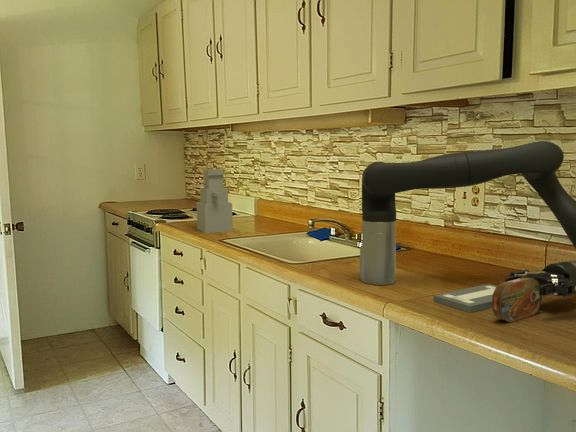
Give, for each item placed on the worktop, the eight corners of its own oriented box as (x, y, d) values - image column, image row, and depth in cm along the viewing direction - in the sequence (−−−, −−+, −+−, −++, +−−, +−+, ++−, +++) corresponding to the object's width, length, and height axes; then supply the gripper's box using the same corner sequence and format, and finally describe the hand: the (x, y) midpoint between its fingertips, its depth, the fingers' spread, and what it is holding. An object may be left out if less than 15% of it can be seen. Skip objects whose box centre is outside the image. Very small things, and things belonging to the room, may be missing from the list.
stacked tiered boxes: (219, 226, 265) (218, 168, 261) (236, 232, 244) (235, 170, 240) (193, 227, 259) (191, 169, 256) (208, 234, 238) (207, 170, 235)
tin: (501, 325, 113) (502, 286, 112) (488, 321, 116) (489, 283, 115) (542, 313, 122) (544, 276, 121) (529, 309, 124) (531, 273, 123)
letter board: (433, 301, 131) (433, 294, 131) (488, 289, 142) (488, 283, 141) (470, 312, 122) (470, 305, 122) (525, 299, 132) (526, 293, 132)
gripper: (539, 256, 133) (496, 264, 125) (598, 267, 121) (554, 276, 113) (538, 286, 134) (494, 296, 126) (596, 299, 122) (552, 311, 113)
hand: (523, 286), depth 119 cm, fingers open, 8 cm apart
